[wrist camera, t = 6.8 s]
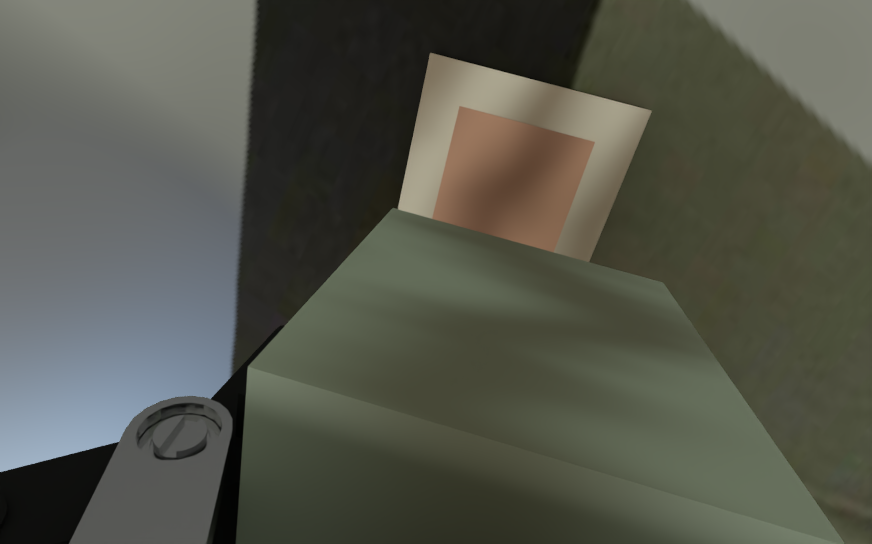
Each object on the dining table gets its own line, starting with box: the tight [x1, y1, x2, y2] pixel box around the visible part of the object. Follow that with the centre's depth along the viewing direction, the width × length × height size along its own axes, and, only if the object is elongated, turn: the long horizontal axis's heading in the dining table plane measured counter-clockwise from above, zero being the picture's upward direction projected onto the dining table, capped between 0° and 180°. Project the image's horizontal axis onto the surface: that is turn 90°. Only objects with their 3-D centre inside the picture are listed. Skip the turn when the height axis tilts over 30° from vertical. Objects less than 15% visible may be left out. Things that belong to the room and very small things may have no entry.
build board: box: [398, 53, 652, 262], centre depth 27 cm, size 12×12×1 cm
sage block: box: [236, 208, 845, 544], centre depth 8 cm, size 6×6×6 cm
